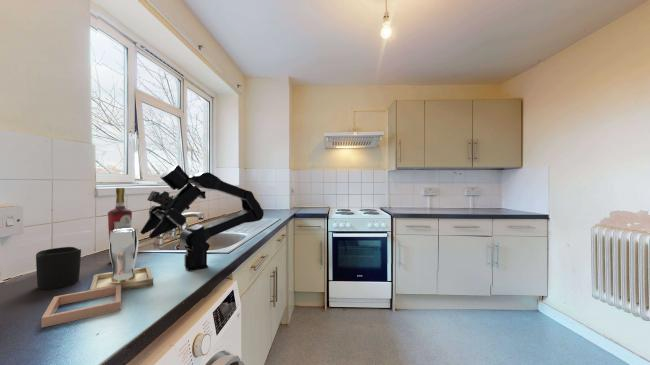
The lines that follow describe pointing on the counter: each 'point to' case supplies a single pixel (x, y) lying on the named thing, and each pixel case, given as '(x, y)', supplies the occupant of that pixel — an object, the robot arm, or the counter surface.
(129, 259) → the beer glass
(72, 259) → the pen holder
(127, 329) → the counter surface
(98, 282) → the tray
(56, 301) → the brown square frame
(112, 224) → the red and white bottle
